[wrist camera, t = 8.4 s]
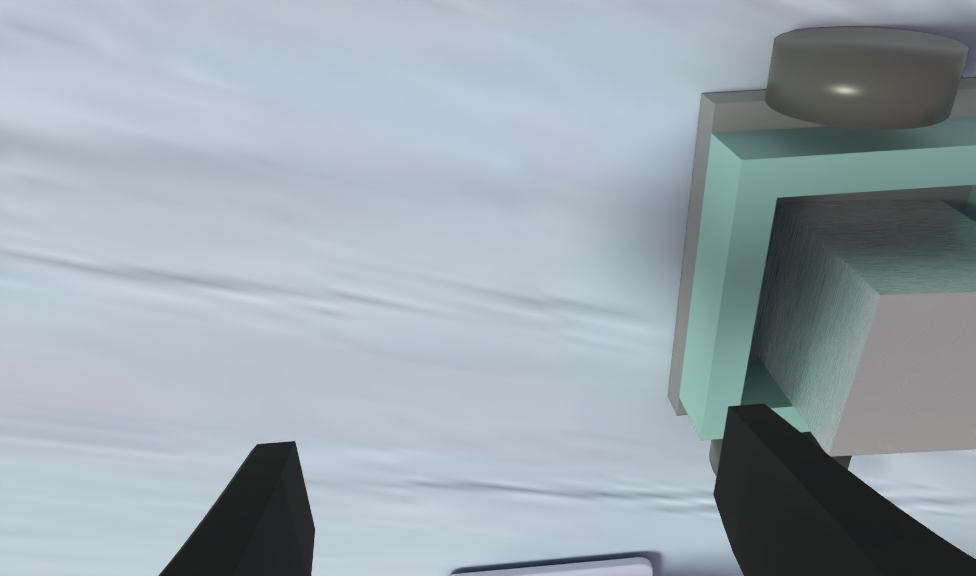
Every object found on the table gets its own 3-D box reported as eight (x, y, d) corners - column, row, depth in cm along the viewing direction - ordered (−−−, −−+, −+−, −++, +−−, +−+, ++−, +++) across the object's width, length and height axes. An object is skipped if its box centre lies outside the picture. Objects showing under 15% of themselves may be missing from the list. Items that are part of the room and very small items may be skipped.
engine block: (889, 335, 22) (1005, 447, 18) (746, 340, 22) (828, 456, 17) (937, 197, 20) (1082, 288, 15) (778, 201, 19) (880, 295, 15)
